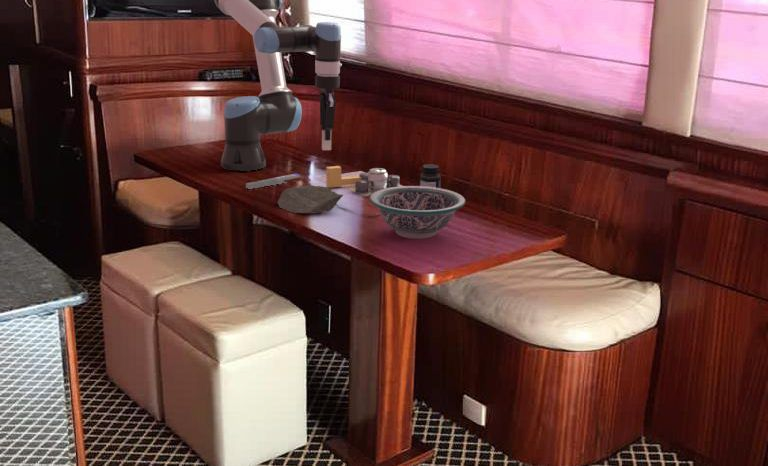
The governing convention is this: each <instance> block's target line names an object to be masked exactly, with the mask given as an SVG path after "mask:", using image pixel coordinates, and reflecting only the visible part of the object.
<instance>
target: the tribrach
mask: <svg viewBox="0 0 768 466" xmlns="http://www.w3.org/2000/svg"><path fill="white" fill-rule="evenodd" d="M361 173H366V172H364V171H362V170H359V171H352V172H346V173H341V178H346V177H358V176H359V174H361ZM367 173H368V181H367V180H356V181H355V184H353V185H342V186H341V187H340V188H343V189H346V190H349V191H350V192H354V193H355V194H358V195H361V196H363V197H367V196H370V195H371V194H372V193H374V192H376V191H378V190H381V189H385V188H391V187H399V186H403V185H402V184H400V179H401V178H400V175H398V174H397V175H396V174H388V171H387V169H385V168H382V167H381V168H380V167H374V168H370V169H369V171H367ZM317 178H318V179H320V180H322V181H325V182H326V175H325V176H320V177H317Z"/></svg>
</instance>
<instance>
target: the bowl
mask: <svg viewBox="0 0 768 466" xmlns="http://www.w3.org/2000/svg"><path fill="white" fill-rule="evenodd" d="M369 202H370V203H371V204H372V205H373V206H375V207H377V208H378V211H379V213H380V215H381V216H382V218H383V220H384V223H386V224H387V225H388V226H389V227H390V228H391V229H393V230H395V233H396V234H397V235H398V236H399V237H403V238H406V239H414V240H424V239H429V238H433V237H434V236H436V235H437V232H438V231H440V230H442V229H444V228H445V227H446V226H447V225H448V224H449V222H450V221H451V220H452V218H453V216H454V214H455V212H456V211H457V210H459V209H461V208H462V207H464V206H465V204H466V198H465V197H464V196H463V195H461V194H460V193H458V192H455V191H452V190H449V189H446V188H441V187H440V188H434V187H425V186H420V185H402V186H399V187H391V188H385V189H381V190H378V191H376V192H374V193H372V194H371V195H369Z"/></svg>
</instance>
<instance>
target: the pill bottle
mask: <svg viewBox="0 0 768 466" xmlns="http://www.w3.org/2000/svg"><path fill="white" fill-rule="evenodd" d="M439 169H440V167H439V165H437V164H423V166H422V173H421V174H420V177H419V186H425V187H434V188H441V180H442V176H441V174H440V173H439Z"/></svg>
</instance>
